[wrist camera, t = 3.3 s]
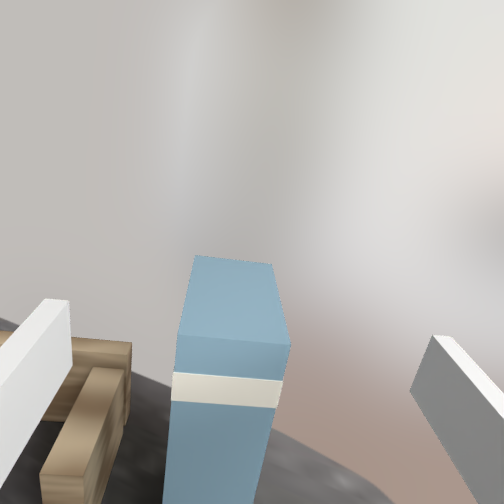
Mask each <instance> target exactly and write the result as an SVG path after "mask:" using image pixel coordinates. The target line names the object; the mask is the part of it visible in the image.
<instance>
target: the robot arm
mask: <svg viewBox="0 0 504 504" xmlns="http://www.w3.org/2000/svg"><path fill="white" fill-rule="evenodd" d="M72 366H73V362H72V345H71V328H70V311H69V301H67V300H57V299H46V298H45V299H44V300H43V301H42V302H41V304H40V305H39V306H38V307H37V308H36V309H35V310H34V311H33V312H32V313H31V314H30V315H29V317H28V318H27V319H26V320H25V321H24V322H23V323H22V324H21V325H20V326H19V327H18V329H17V330H16V331H15V332H14V333H13V334H12V335H11V336H10V337H9V338H8V339H7V340H6V342H5V343H4V344H3V345H2V346H1V347H0V488H1V486H2V485H3V483H4V481H5V480H6V478H7V476H8V474H9V473H10V471H11V469H12V468H13V466H14V464H15V463H16V461H17V459H18V457H19V456H20V454H21V452H22V451H23V449H24V447H25V446H26V444H27V442H28V440H29V439H30V437H31V435H32V434H33V432H34V430H35V429H36V427H37V425H38V423H39V422H40V420H41V418H42V417H43V415H44V413H45V412H46V410H47V408H48V406H49V405H50V403H51V401H52V400H53V398H54V396H55V395H56V393H57V391H58V389H59V388H60V386H61V384H62V383H63V381H64V379H65V378H66V376H67V374H68V372H69V371H70V369H71V367H72ZM410 392H411V394H412V396H413V397H414V399H415V401H416V402H417V404H418V406H419V407H420V409H421V411H422V412H423V414H424V416H425V417H426V419H427V421H428V422H429V424H430V425H431V427H432V429H433V430H434V432H435V434H436V435H437V437H438V439H439V440H440V442H441V443H442V445H443V447H444V448H445V450H446V452H447V453H448V455H449V456H450V458H451V460H452V462H453V463H454V465H455V467H456V468H457V470H458V471H459V473H460V475H461V476H462V478H463V480H464V481H465V483H466V484H467V486H468V488H469V490H470V491H471V493H472V494H473V496H474V498H475V499H476V501H477V502H478V504H504V393H503V392H502V391H501V390H500V389H499V388H498V387H497V386H496V385H495V384H494V383H493V381H492V380H491V379H490V378H489V377H488V376H487V375H486V374H485V373H484V372H483V371H482V370H481V369H480V367H479V366H478V365H477V364H476V363H475V362H474V361H473V360H472V359H471V358H470V357H469V355H468V354H467V353H466V352H465V351H464V350H463V349H462V348H461V347H460V346H459V345H458V343H457V342H456V341H455V340H454V339H453V338H452V337H450V336H439V335H432V337H431V340H430V342H429V344H428V347H427V349H426V352H425V354H424V357H423V359H422V362H421V364H420V366H419V369H418V371H417V374H416V376H415V379H414V381H413V384H412V386H411V388H410Z"/></svg>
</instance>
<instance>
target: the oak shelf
mask: <svg viewBox="0 0 504 504" xmlns="http://www.w3.org/2000/svg"><path fill="white" fill-rule="evenodd" d="M13 333H14V332H10V331H0V347H1V346H2V345H3V344H4V343H5V342H6V340H7V339H8V338H9V337H10V336H11V335H12V334H13ZM71 345H72V362H73V366H72V367H71V369H70V371H69V372H68V374H67V376H66V378H65V379H64V381H63V383H62V384H61V386H60V388H59V389H58V391H57V393H56V395H55V396H54V398H53V400H52V401H51V403H50V405H49V406H48V408H47V410H46V412H45V413H44V415H43V417H42V418H41V420H40V421H55V422H65V424H64V426H63V428H62V430H61V432H60V434H59V436H58V438H57V440H56V441H55V443H54V445H53V447H52V449H51V451H50V453H49V455H48V457H47V459H46V461H45V463H44V465H43V467H42V469H41V471H40V473H39V476H40V485H41V494H42V503H43V504H101V501H102V498H103V495H104V492H105V489H106V485H107V482H108V479H109V476H110V473H111V470H112V467H113V463H114V460H115V457H116V454H117V451H118V448H119V445H120V441H121V438H122V435H123V426H126V423H127V419H128V416H129V413H130V393H131V358H132V343H131V342H120V341H110V340H99V339H88V338H77V337H71Z"/></svg>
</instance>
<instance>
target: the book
mask: <svg viewBox="0 0 504 504" xmlns="http://www.w3.org/2000/svg"><path fill="white" fill-rule="evenodd" d="M290 347H291V342H290V339H289V334H288V330H287V326H286V322H285V318H284V313H283V309H282V305H281V301H280V297H279V293H278V288H277V285H276V280H275V276H274V272H273V268H272V264H265V263H257V262H249V261H240V260H231V259H223V258H215V257H206V256H198V255H196V256H195V258H194V263H193V267H192V272H191V276H190V280H189V285H188V289H187V294H186V298H185V303H184V307H183V312H182V316H181V321H180V326H179V330H178V335H177V346H176V357H175V366H174V371H173V379H172V391H171V401H172V402H171V413H170V424H169V436H168V447H167V458H166V469H165V481H164V492H163V503H162V504H253V501H254V497H255V493H256V488H257V484H258V480H259V476H260V472H261V468H262V464H263V459H264V455H265V451H266V447H267V443H268V439H269V434H270V430H271V426H272V422H273V418H274V414H275V409H276V408H277V406H278V402H279V398H280V394H281V389H282V385H283V376H284V372H285V368H286V364H287V360H288V356H289V351H290Z"/></svg>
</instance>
